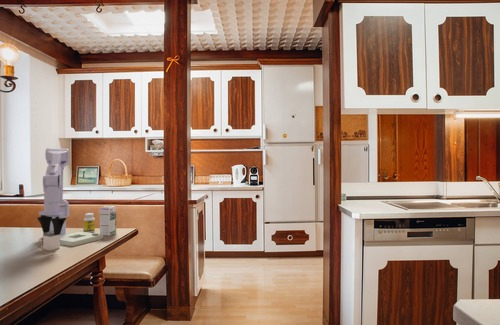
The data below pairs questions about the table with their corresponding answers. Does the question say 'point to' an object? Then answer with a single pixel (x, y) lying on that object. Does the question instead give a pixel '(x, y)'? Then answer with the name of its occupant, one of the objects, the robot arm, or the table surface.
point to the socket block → (79, 238)
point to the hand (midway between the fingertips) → (51, 233)
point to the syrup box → (108, 220)
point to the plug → (51, 240)
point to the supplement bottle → (89, 223)
